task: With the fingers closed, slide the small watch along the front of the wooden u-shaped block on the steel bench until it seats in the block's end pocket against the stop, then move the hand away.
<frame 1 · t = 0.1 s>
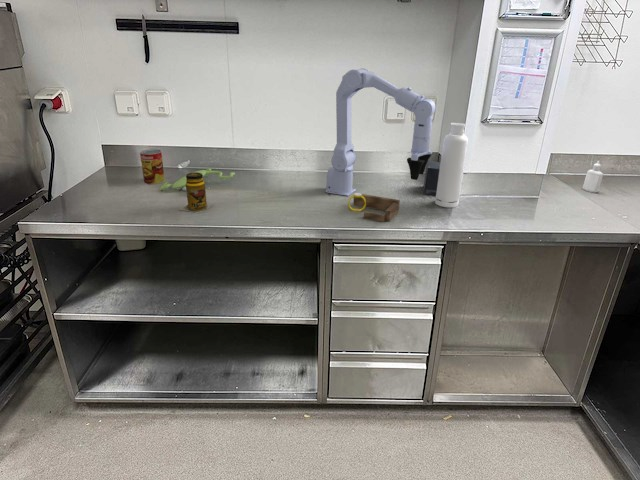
hand: (417, 176, 152), 10 cm above the counter, tool pointing down, fingers open, 7 cm apart
small box: (431, 191, 171), on the counter
watch: (356, 211, 150), on the counter
wooden u-shaped block: (375, 208, 152), on the counter
eye dropper bottle: (589, 191, 175), on the counter
condiment: (195, 208, 149), on the counter
figurine: (200, 187, 171), on the counter
canned food: (154, 181, 175), on the counter
bottle: (446, 204, 158), on the counter
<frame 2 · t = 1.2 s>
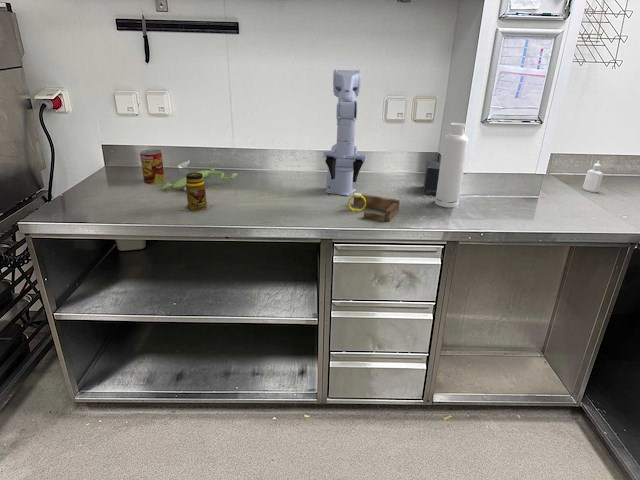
hand: (343, 180, 149), 9 cm above the counter, tool pointing down, fingers open, 7 cm apart
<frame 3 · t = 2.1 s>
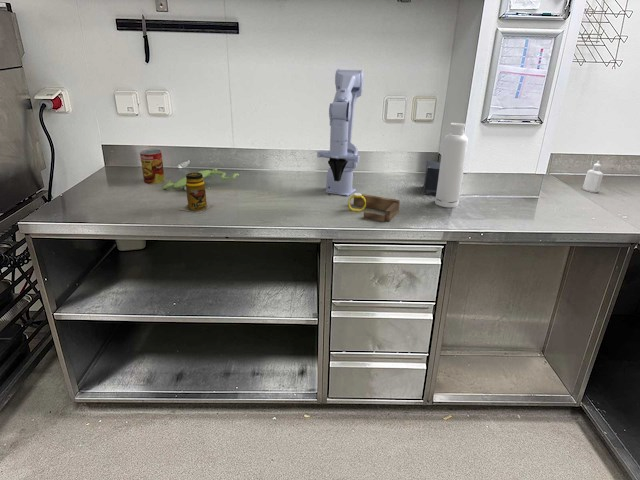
hand: (337, 180, 149), 9 cm above the counter, tool pointing down, fingers closed
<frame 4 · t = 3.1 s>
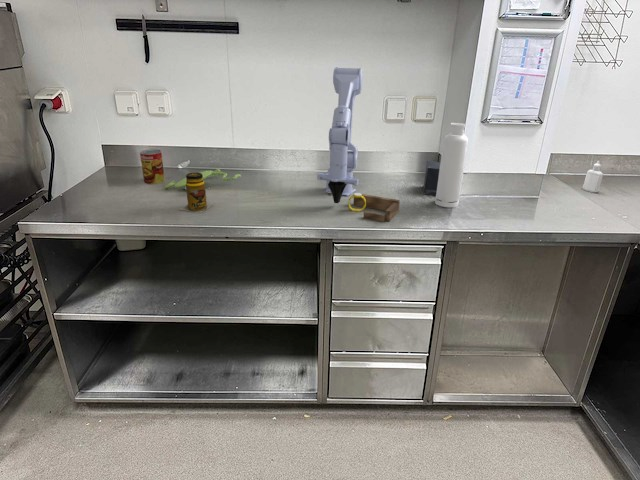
hand: (336, 202, 152), 2 cm above the counter, tool pointing down, fingers closed
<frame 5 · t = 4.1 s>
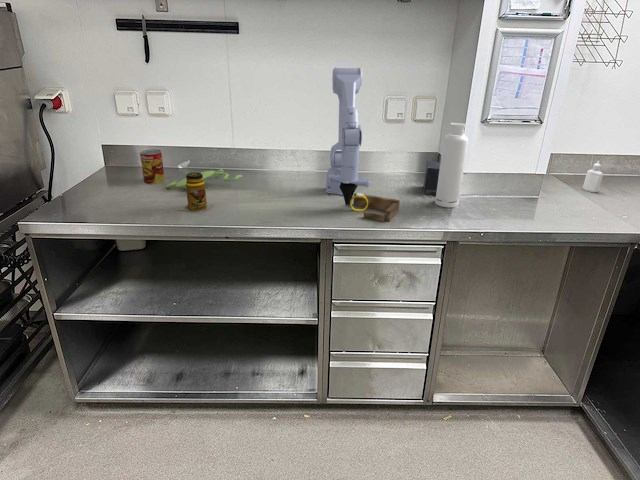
hand: (347, 204, 150), 2 cm above the counter, tool pointing down, fingers closed
watch: (358, 211, 149), on the counter, touching gripper
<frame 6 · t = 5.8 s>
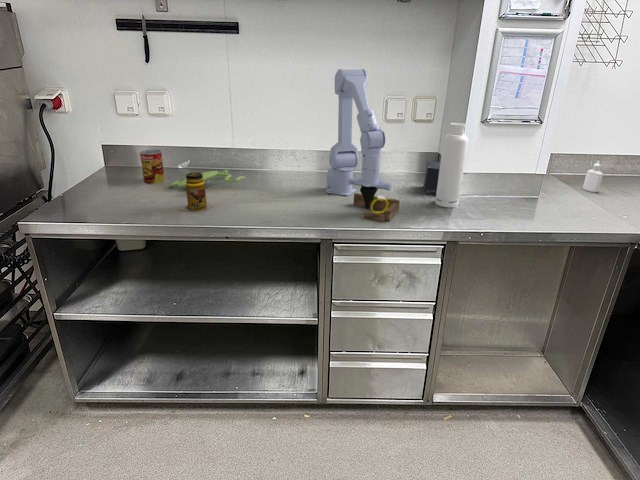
hand: (367, 207, 147), 2 cm above the counter, tool pointing down, fingers closed
watch: (378, 213, 148), on the counter, touching gripper
figurine: (208, 188, 171), on the counter
everything else where it was.
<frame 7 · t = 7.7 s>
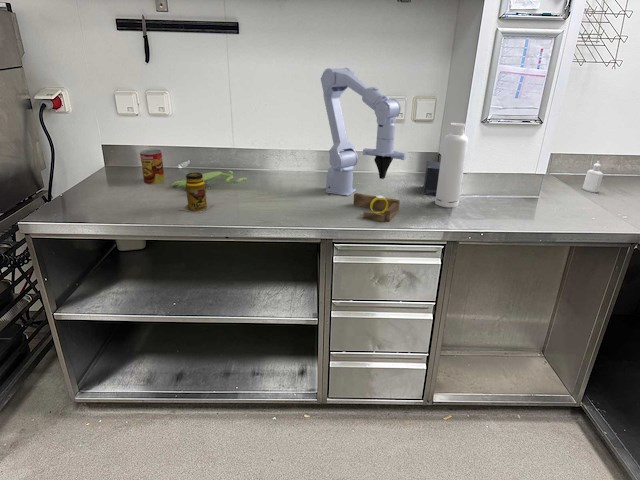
hand: (382, 178, 150), 10 cm above the counter, tool pointing down, fingers closed
watch: (378, 213, 148), on the counter
figurine: (211, 188, 170), on the counter
everything else where it was.
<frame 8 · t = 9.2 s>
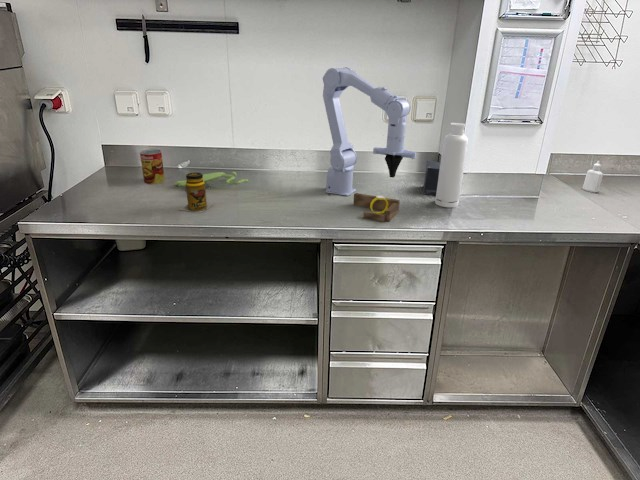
hand: (392, 176, 152), 10 cm above the counter, tool pointing down, fingers closed
at the end: watch 1.7 cm from the target spot, on the counter; watch tilted 1°; watch moved 7.6 cm from its start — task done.
